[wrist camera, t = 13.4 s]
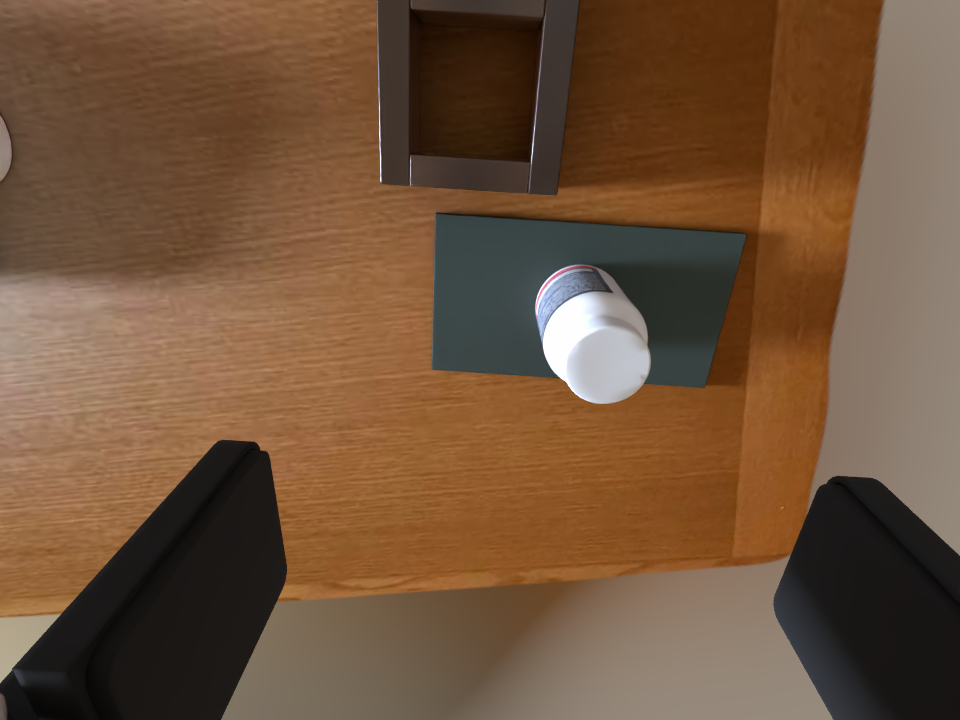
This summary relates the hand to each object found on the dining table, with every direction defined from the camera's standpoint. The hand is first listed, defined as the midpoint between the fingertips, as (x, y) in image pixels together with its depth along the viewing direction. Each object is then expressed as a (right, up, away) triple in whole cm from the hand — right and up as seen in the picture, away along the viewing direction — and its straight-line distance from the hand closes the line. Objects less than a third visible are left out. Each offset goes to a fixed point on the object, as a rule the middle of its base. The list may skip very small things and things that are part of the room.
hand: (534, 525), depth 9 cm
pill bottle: (+5, +6, +23) cm, 24 cm away
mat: (+5, +6, +23) cm, 24 cm away
